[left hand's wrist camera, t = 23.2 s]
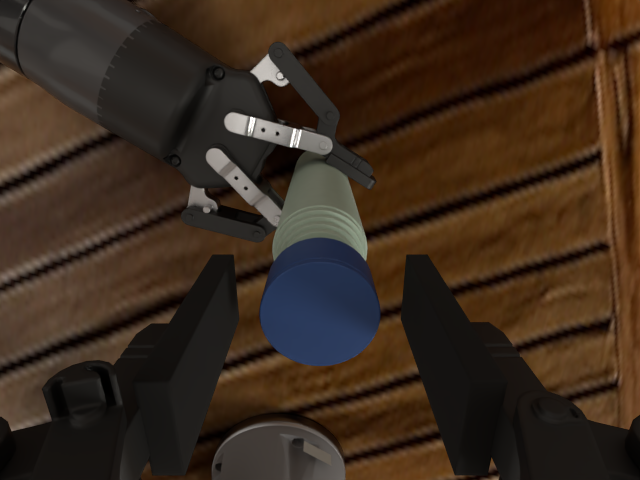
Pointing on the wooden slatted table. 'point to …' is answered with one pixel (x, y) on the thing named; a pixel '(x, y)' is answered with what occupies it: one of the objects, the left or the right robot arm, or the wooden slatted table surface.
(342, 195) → the bottle
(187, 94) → the right robot arm
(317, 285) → the cap
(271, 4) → the wooden slatted table surface
